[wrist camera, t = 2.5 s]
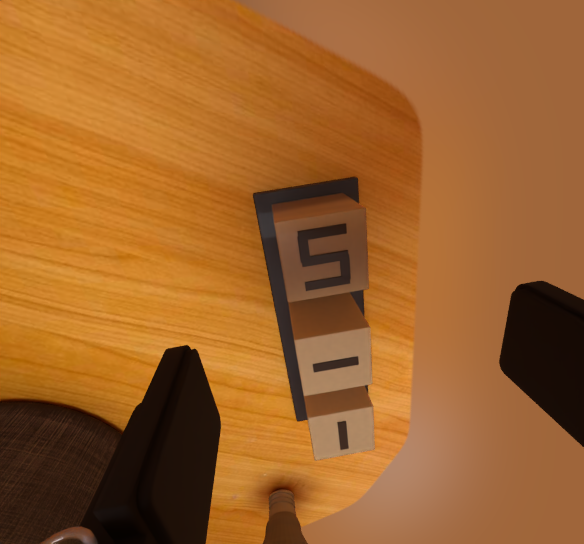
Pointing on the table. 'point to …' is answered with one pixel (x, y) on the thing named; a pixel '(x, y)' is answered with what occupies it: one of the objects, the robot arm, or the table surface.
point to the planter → (48, 468)
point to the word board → (322, 341)
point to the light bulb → (283, 520)
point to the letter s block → (322, 246)
